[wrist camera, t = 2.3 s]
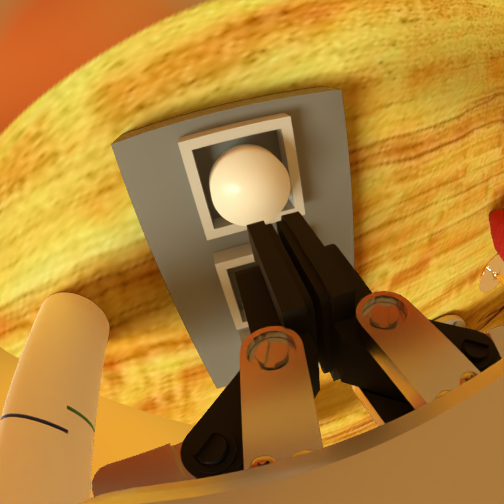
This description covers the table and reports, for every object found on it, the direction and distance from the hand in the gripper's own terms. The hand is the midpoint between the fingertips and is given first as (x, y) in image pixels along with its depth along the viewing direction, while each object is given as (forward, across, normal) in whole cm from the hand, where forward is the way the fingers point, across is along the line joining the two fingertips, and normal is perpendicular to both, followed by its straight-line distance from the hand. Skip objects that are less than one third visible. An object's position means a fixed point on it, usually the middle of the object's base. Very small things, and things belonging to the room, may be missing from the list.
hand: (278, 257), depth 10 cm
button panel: (+13, 0, +9) cm, 16 cm away
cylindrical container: (+13, +18, +11) cm, 24 cm away
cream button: (+9, 0, +1) cm, 9 cm away
